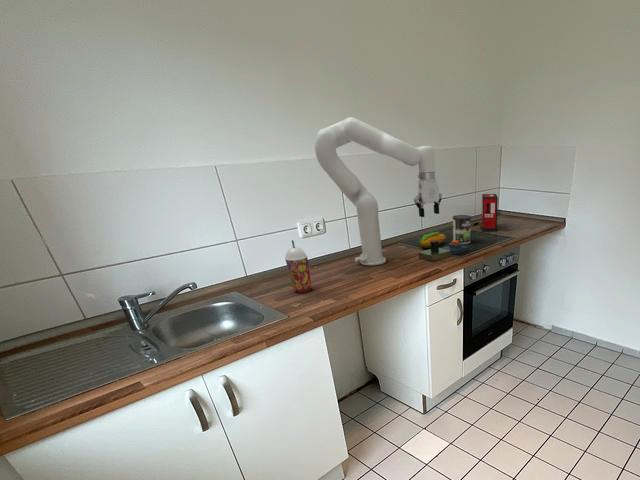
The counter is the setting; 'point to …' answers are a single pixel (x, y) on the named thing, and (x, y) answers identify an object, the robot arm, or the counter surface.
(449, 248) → the button box
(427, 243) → the corn
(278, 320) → the counter surface
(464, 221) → the coffee can
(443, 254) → the panel
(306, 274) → the smoothie
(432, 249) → the knob
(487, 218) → the cleaning product box
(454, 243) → the button
